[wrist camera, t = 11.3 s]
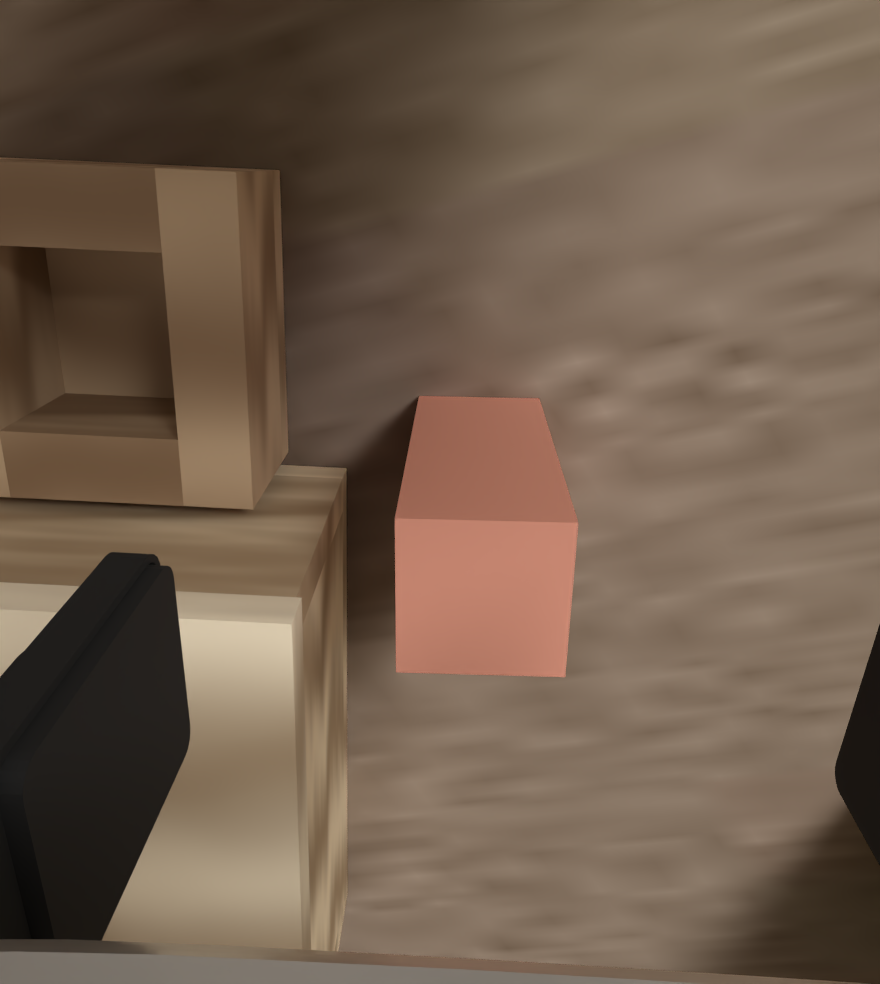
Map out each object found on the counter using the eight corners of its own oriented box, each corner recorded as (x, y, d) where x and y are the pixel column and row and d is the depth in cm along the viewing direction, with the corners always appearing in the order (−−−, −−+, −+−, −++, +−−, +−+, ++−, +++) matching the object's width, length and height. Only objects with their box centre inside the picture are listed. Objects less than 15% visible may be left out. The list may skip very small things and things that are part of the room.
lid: (-255, 569, 19) (-495, 704, 14) (301, 597, 19) (246, 743, 14) (-82, 1108, 27) (-200, 1312, 22) (315, 1131, 27) (283, 1341, 22)
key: (419, 396, 27) (394, 518, 18) (538, 398, 27) (578, 522, 17) (418, 506, 28) (396, 672, 19) (532, 508, 28) (565, 677, 19)
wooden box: (-82, 153, 24) (-366, 148, 16) (345, 173, 24) (283, 178, 16) (54, 876, 36) (-72, 1094, 27) (347, 893, 35) (311, 1116, 27)
